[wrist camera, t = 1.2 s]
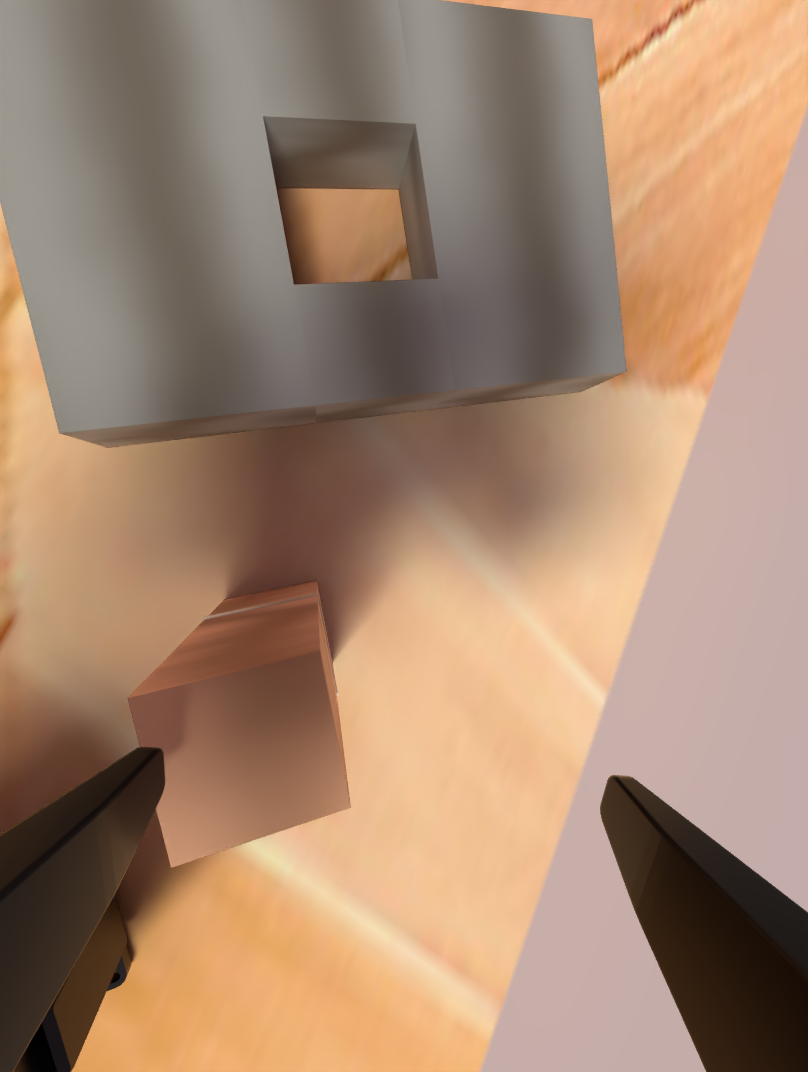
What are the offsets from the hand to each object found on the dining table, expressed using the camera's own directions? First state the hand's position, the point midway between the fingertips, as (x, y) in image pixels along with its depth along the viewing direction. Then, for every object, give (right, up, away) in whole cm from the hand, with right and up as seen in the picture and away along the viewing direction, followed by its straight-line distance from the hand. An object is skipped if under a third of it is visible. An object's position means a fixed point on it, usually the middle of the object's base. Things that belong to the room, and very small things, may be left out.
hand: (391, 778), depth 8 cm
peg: (-5, +1, +10) cm, 11 cm away
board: (-2, +17, +9) cm, 20 cm away
